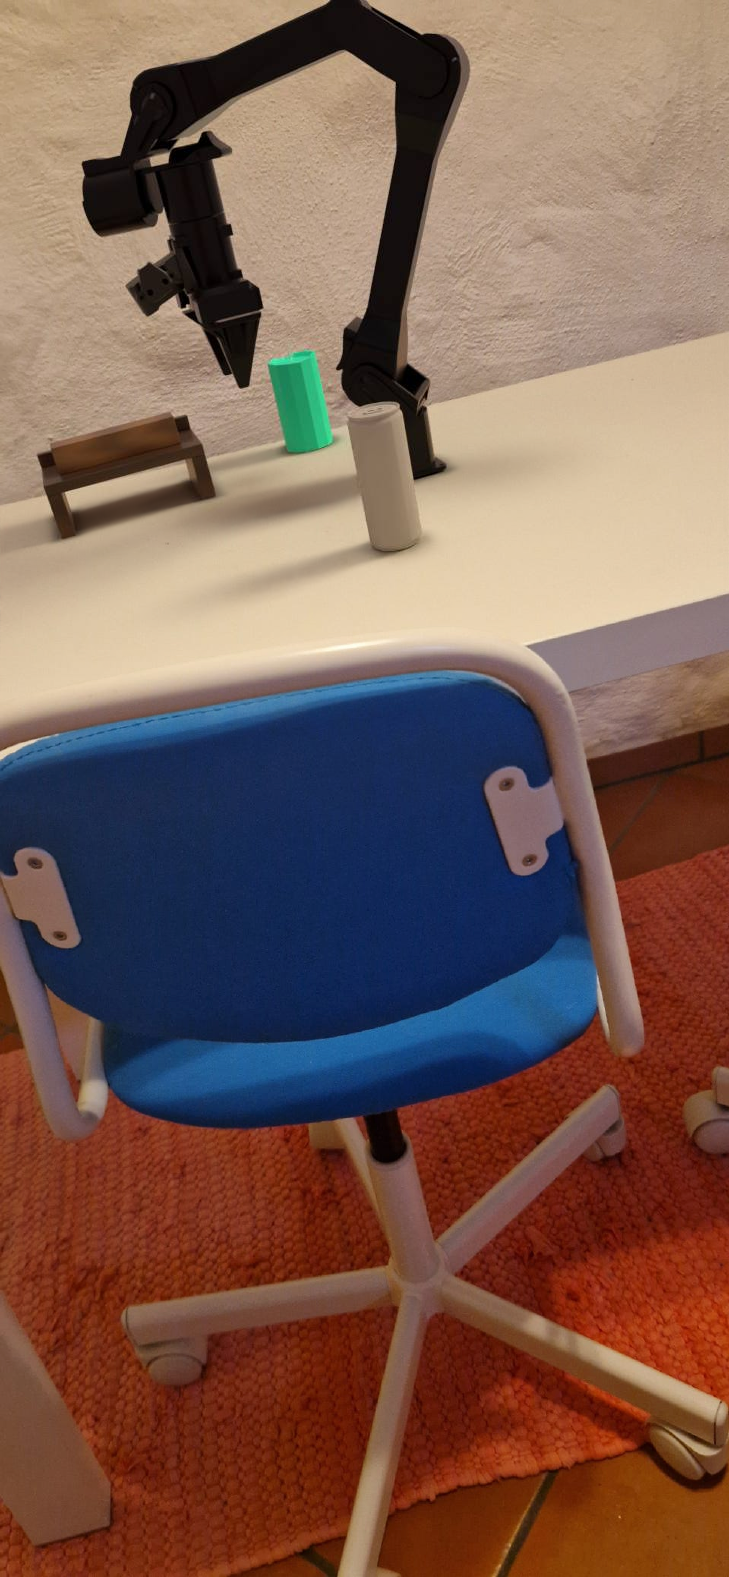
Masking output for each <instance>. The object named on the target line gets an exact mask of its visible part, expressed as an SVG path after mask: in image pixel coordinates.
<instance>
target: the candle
mask: <svg viewBox="0 0 729 1577" xmlns="http://www.w3.org/2000/svg"><path fill="white" fill-rule="evenodd" d="M287 349H288V355H287V356H285V357H283V358H272V359H271V360H270V361H268V363H267V369H268V374H269V378H270V383H271V387H272V391H273V395H274V399H275V404H276V408H277V412H278V413H277V414H278V418H279V421H280V425H281V430H282V434H283V438H284V444H285V449H286V450H287V453H295V454H299V453H307V452H313V451H315V450H319V449H322V448H324V447H327V446H329V445H330V444H332V443H333V442H334V439H333V434H332V428H331V424H330V419H329V414H328V409H327V404H326V398H325V393H324V390H323V384H322V380H321V374H320V369H319V365H318V361H317V360H318V359H317V355H316V351H314V350H308V349H307V350H300V351H295V352H292V353H291V349H290V344H289V343H287Z"/></svg>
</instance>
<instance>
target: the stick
mask: <svg viewBox="0 0 729 1577" xmlns="http://www.w3.org/2000/svg"><path fill="white" fill-rule="evenodd" d="M179 443H181V442H180V438H179V434H178V431H177V427H176V424H175V420H174V416H173V414H172V413H171V411H167V412H164V413H160V414H156V415H152V416H149V417H145V418H141V419H137V420H133V421H130V422H126V423H122V424H118V425H114V426H110V427H106V428H103V429H99V430H96V431H92V432H87V433H84V434H81V435H77V436H76V435H75V436H73V437H72V436H71V437H69V438H65V439H61V440H57V441H54V442H50V443H49V447H50V450H51V452H52V454H53V457H54V460H55V463H56V466H57V469H58V472H59V475H63V474H67V473H71V472H74V471H78V470H82V469H86V468H89V467H93V466H97V465H100V464H104V463H108V462H112V461H115V460H119V459H123V458H127V457H130V456H134V455H138V454H141V453H145V452H149V451H153V450H156V449H160V448H164V447H168V446H171V445H175V444H179Z"/></svg>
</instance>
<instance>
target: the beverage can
mask: <svg viewBox="0 0 729 1577" xmlns="http://www.w3.org/2000/svg"><path fill="white" fill-rule="evenodd" d="M346 417H347V419H348V420H347V424H346V425H347V430H348V435H349V441H350V444H351V445H350V446H351V450H352V456H353V461H354V467H355V470H356V476H357V482H358V486H359V492H360V496H361V497H360V498H361V502H362V507H363V512H364V518H365V522H366V527H367V528H366V529H367V532H368V538H369V542H370V544H371V545H372V546H373V547H374V548H375V549H376V550H378V551H382V552H395V551H401V550H404V549H408V548H410V547H412V546H414V545H415V544H417V543H418V542H419V541H420V539H421V537H422V534H423V528H422V522H421V517H420V512H419V505H418V499H417V494H416V486H415V482H414V478H413V474H412V468H411V462H410V456H409V450H408V444H407V438H406V432H405V426H404V420H403V414H402V411H401V410H400V409H399V404H398V403H396V402H380V403H374V404H369V405H365V406H362V407H359V406H358V407H357V408H354V409H351V410H350V411H349V412H348V413H347V416H346Z"/></svg>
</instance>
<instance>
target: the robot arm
mask: <svg viewBox="0 0 729 1577" xmlns="http://www.w3.org/2000/svg"><path fill="white" fill-rule="evenodd" d="M346 52H347V53H349V54H351V55H352V56H354V57H355V58H356V59H358V60H360V61H361V62H363V63H364V64H366V66H369V67H370V68H371V69H373V70H375V71H376V72H377V73H379V74H380V75H382V76H384V77H385V78H387V79H389V80H391V81H392V82H394V83H395V86H394V87H395V90H394V125H395V126H394V127H395V128H394V129H395V156H394V161H393V166H392V172H391V177H390V183H389V188H388V193H387V198H386V203H385V204H386V205H385V209H384V214H383V220H382V226H381V232H380V237H379V242H378V246H377V247H378V248H377V252H376V258H375V263H374V269H373V274H372V278H371V279H372V280H371V285H370V290H369V295H368V301H367V305H366V310H365V312H364V313H363V314H364V315H363V317H362V318H361V317H359V316H355V317H354V318H353V319H351V321H350V322H349V323H348V324H347V325H346V326H345V327H344V328H343V331H342V350H341V351H342V352H341V356H340V360H339V362H338V364H337V365H336V367H335V370H336V371H337V372H338V371H341V375H340V384H341V385H340V386H341V389H342V391H343V392H344V395H346V397H347V399H348V400H349V401H350V402H351V403H352V404H354V405H355V406H356V407H358V408H359V407H362V406H365V405H369V404H374V403H380V402H396V403H398V404H399V409H400V410H401V411H402V414H403V420H404V426H405V432H406V438H407V444H408V450H409V456H410V462H411V468H412V474H413V479H415V478H420V477H423V476H425V475H430V474H432V473H437V472H441V471H444V470H446V469H447V468H448V467H447V466H448V465H447V463H446V462H444V461H443V460H441V459H440V458H438V457H436V456H435V451H434V450H435V449H434V443H433V438H432V431H431V425H430V417H429V411H428V407H427V406H425V405H424V404H425V402H426V401H427V400H428V398H429V394H430V387H431V379H430V378H428V377H427V376H426V375H425V374H423V373H422V372H420V371H419V370H418V369H416V367H414V366H413V365H411V364H410V363H409V362H408V353H409V352H408V350H409V335H408V334H409V331H408V330H409V328H408V306H409V302H410V297H411V293H412V288H413V284H414V278H415V274H416V268H417V263H418V259H419V254H420V250H421V244H422V240H423V234H424V230H425V225H426V221H427V216H428V211H429V205H430V201H431V197H432V192H433V191H432V190H433V187H434V181H435V177H436V173H437V172H436V171H437V168H438V163H439V159H440V155H441V153H442V150H443V148H444V146H445V143H446V141H447V139H448V136H449V134H450V131H451V129H452V127H453V125H454V122H455V119H456V117H457V115H458V112H459V108H460V106H461V103H462V101H463V98H464V96H465V92H466V90H467V88H468V84H469V82H470V75H471V65H470V59H469V56H468V54H467V52H466V50H465V48H464V46H463V44H461V43H460V42H459V41H458V40H457V39H456V38H454V37H453V36H450V35H448V34H446V33H431V32H426V33H421V32H418V31H417V30H415V29H413V28H412V27H410V26H408V25H406V24H405V23H403V22H401V21H399V20H397V19H395V18H394V17H391V16H390V15H389V14H386V13H384V12H383V11H380V10H379V9H377V8H375V7H374V6H372V5H371V4H370V3H369V1H368V0H329V1H327V2H326V3H325V4H323V5H320V6H318V7H317V8H314V9H312V10H310V11H308V12H306V13H303V14H301V15H299V16H297V17H295V18H293V19H291V20H288V21H286V22H284V23H282V24H279V25H277V26H275V27H274V28H271V29H269V30H267V31H265V32H262V33H260V34H258V35H255V36H254V37H251V38H250V39H247V40H245V41H243V42H241V43H239V44H236V45H235V46H232V47H230V48H228V49H226V50H224V51H221V52H219V53H217V54H215V55H214V54H213V55H210V56H204V57H201V58H194V59H189V60H184V61H178V62H174V63H168V64H164V65H160V66H155V67H151V68H147V69H144V70H142V71H141V72H139V73H138V74H137V75H136V77H134V79H133V81H132V85H131V88H130V93H129V108H130V112H131V115H130V119H129V123H128V126H127V130H126V133H125V137H124V141H123V142H122V143H123V145H122V148H121V151H120V153H119V155H115V156H111V157H96V158H91V159H87V160H83V161H82V162H81V164H80V165H81V168H82V171H83V175H84V176H83V179H82V184H81V185H82V186H81V188H82V192H81V193H82V199H83V200H82V201H81V204H82V208H83V211H84V214H85V218H86V219H87V222H88V224H89V226H90V227H91V229H92V230H93V231H94V233H95V234H96V235H97V236H99V237H100V238H108V237H111V236H117V235H121V234H127V233H132V232H136V231H141V230H145V229H152V228H155V227H156V225H157V224H158V220H159V215H161V214H163V212H164V214H165V218H166V221H167V224H168V229H169V233H170V234H169V235H168V239H166V243H167V247H168V250H169V253H167V254H165V255H164V256H163V257H162V258H160V259H158V260H157V261H156V262H153V263H152V262H151V261H147V262H146V264H145V265H144V266H142V267H141V268H137V269H136V274H137V276H135V277H134V278H132V279H131V280H129V282H127V283H126V284H125V286H124V287H125V288H126V290H127V292H128V293H129V295H130V297H132V299H133V300H134V302H135V303H136V305H137V306H138V308H139V310H140V311H141V312H142V315H145V317H146V318H148V317H150V316H152V315H154V314H155V313H157V312H158V311H159V310H160V307H161V306H162V305H164V304H165V303H167V302H168V301H169V300H171V299H172V298H174V297H175V300H176V304H177V308H179V309H180V310H182V311H181V313H182V314H183V315H184V316H185V317H187V318H188V319H189V320H191V321H192V322H194V323H195V324H197V325H199V327H200V328H201V330H202V332H203V335H204V336H205V338H206V341H207V343H208V345H209V347H210V349H211V351H212V353H213V355H214V358H215V360H216V363H217V365H218V366H219V368H220V370H221V373H222V375H223V376H225V377H226V376H227V377H228V376H231V375H232V376H233V378H234V381H235V383H236V385H237V388H238V389H246V388H249V387H250V385H251V384H250V383H251V378H252V377H251V376H252V372H253V371H252V370H253V363H254V356H255V350H256V343H257V337H258V333H259V326H260V321H261V318H262V310H264V302H263V299H262V294H261V290H260V287H258V286H257V285H256V284H254V282H251V281H250V280H249V279H247V278H244V275H243V271H242V268H239V267H238V265H237V260H236V256H235V251H234V246H233V243H232V238H231V236H234V231H233V227H232V223H228V220H227V217H226V216H227V215H226V213H225V208H224V204H223V198H222V195H221V191H220V187H219V182H218V177H217V174H216V169H215V165H214V160H217V159H222V158H224V157H228V156H230V155H232V154H233V148H232V146H230V145H228V144H227V143H226V142H223V140H220V138H218V137H217V136H216V135H215V134H214V132H213V131H212V130H206V131H205V130H204V131H202V132H201V134H200V137H199V139H198V140H197V141H196V142H194V143H189V144H185V145H181V146H176V145H177V144H178V143H179V141H180V140H181V139H184V138H190V137H191V136H193V135H196V134H197V133H198V132H200V131H201V130H202V129H204V128H205V127H206V126H208V125H209V124H211V123H212V122H213V121H215V120H216V119H217V118H219V117H220V116H221V115H222V114H223V113H225V112H226V110H228V109H229V108H230V107H231V106H233V105H234V104H236V102H238V101H240V100H241V99H243V98H244V97H246V96H249V95H251V94H253V93H256V92H258V91H260V90H262V89H264V88H267V87H269V86H272V85H274V84H276V83H278V82H280V81H283V80H285V79H288V78H289V77H292V76H294V75H296V74H298V73H301V72H303V71H305V70H307V69H310V68H312V67H314V66H316V65H318V64H319V65H320V64H321V63H323V62H325V61H327V60H330V59H332V58H334V57H336V56H339V55H341V54H344V53H346ZM168 154H169V155H168ZM163 155H168V160H167V161H168V162H166V163H161V164H157V165H152V162H151V158H153V157H154V158H155V157H158V156H163ZM187 306H188V309H187ZM183 309H185V310H183Z"/></svg>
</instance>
